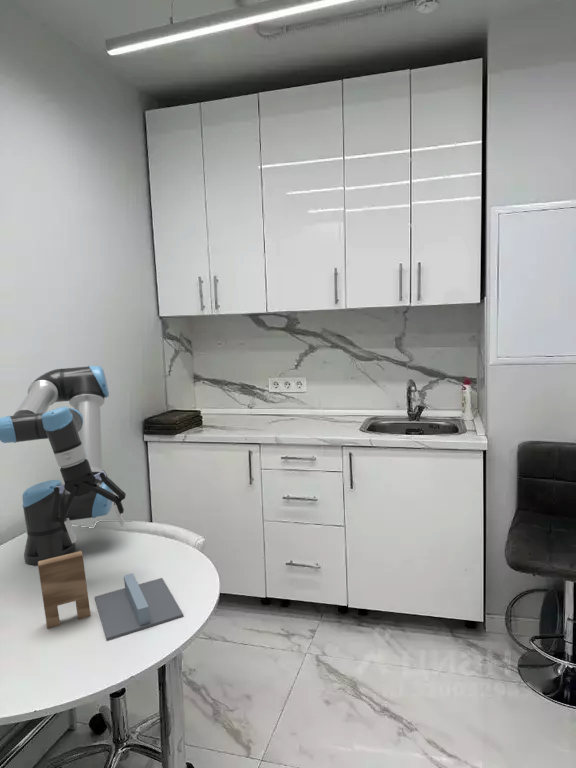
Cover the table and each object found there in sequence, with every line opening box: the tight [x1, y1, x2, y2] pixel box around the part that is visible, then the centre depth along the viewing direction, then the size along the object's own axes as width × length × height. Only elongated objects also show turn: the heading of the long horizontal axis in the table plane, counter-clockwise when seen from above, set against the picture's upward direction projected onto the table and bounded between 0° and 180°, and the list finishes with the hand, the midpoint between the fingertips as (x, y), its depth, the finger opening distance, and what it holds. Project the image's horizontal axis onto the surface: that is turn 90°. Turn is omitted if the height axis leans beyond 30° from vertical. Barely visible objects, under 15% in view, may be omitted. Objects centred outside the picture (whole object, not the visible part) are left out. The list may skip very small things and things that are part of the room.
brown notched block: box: [37, 550, 92, 630], centre depth 134 cm, size 3×10×16 cm, turn 116°
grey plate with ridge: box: [94, 573, 184, 641], centre depth 138 cm, size 22×18×5 cm
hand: (98, 532), depth 153 cm, fingers open, 13 cm apart
